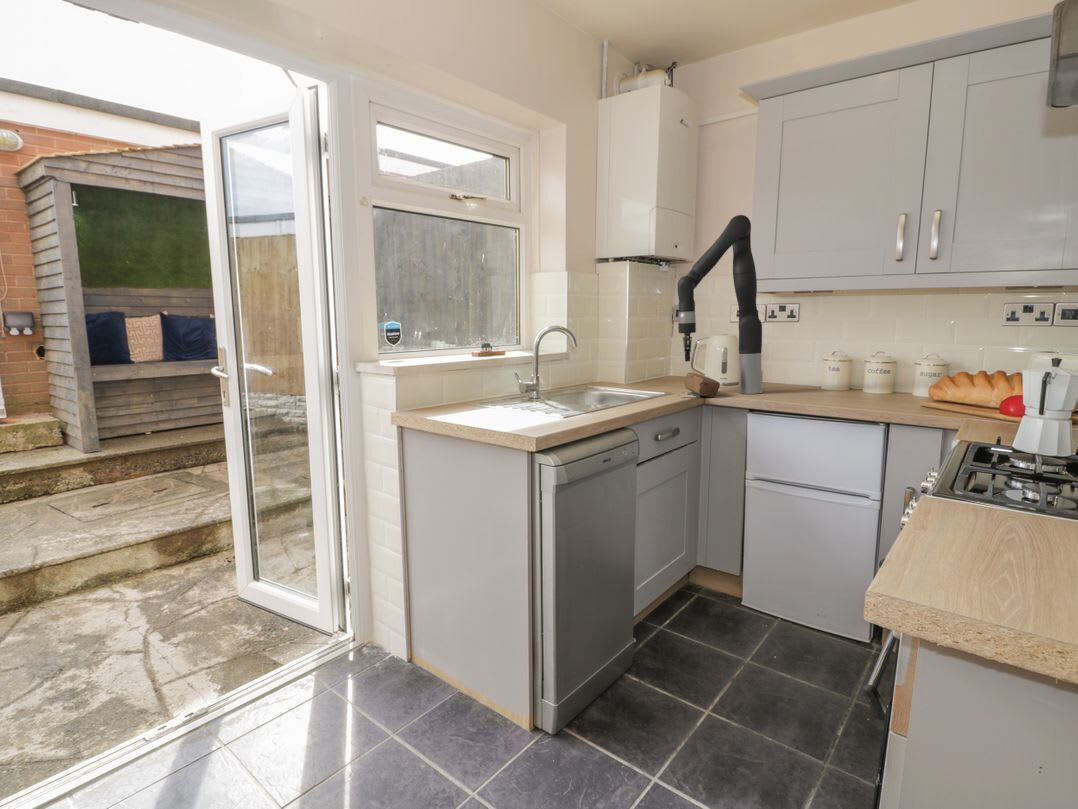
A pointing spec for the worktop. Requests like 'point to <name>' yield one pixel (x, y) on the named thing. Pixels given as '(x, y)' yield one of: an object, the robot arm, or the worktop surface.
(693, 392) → the slate board
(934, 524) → the worktop surface
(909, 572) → the worktop surface
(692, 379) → the block
